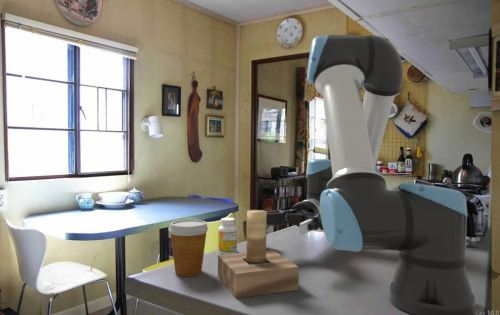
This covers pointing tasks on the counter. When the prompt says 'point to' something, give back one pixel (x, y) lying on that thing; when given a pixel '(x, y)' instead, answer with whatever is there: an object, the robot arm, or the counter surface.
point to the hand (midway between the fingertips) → (275, 226)
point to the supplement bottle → (227, 236)
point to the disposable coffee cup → (188, 246)
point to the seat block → (257, 274)
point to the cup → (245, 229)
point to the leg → (256, 237)
